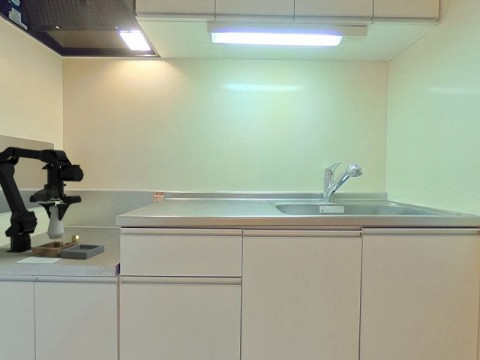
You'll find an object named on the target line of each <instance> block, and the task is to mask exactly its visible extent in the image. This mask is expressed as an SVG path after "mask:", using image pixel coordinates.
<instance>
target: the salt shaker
mask: <svg viewBox="0 0 480 360" xmlns="http://www.w3.org/2000/svg"><path fill="white" fill-rule="evenodd" d="M49 211H50V212H51V217H50V219H49V223H48V227H47V232H46V234H47V237H48V238H49V239H50V240H59V239H63V237H64V235H65V229H64V224H63V223H64V222H63V219H62V220H61V221H59V219H58V207H57V206H56V204H55V206H50V208H49Z"/></svg>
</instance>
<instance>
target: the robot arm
mask: <svg viewBox="0 0 480 360" xmlns="http://www.w3.org/2000/svg"><path fill="white" fill-rule="evenodd" d="M20 158H24V159H31V160H38V161H40V162H42V163H45V165H44V166H42V167H41V170H43V171H45V170H46V183H44V185H43V188H41V189H39V190H37V191H36V192H34V193H33V194H32V195H31V194H30V196H29V203H37V202H39V203H38V205H39V206H41V207H42V208H44V210H45V212H46V215H47V216H48V219H49V220H50V217H51V212H50V211H49V208H50V206H55V205H56V206H57V207H58V219H59V221H61V220H62V221H63V219H64V217H65V214H66V213H67V211H68V209H69V207H70V206H71V205H73V204H78V203H80V204H81V203H82V197H81V196H80V195H75V194H73V195H67V194H66V193H65V187H67V183H65V182H68V183H69V182H71V183H73V182H75V183H80V182H82V181H83V179H84V175H85V174H84V171H83V169H82V168H81V164H72V162H71V161H70V159H69V157H68V156H67V153H66V152H65V151H64V150H63V149H53V148H52V149H51V148H48V149H47V148H46V149H40V150H39V149H30V148H23V147H19V146H7V147H6V148H5V149H4V150H2V151H1V152H0V187H1V189H2V192H3V194H4V197H5V200H6V202H7V205H8V207H9V210H10V212H11V214H10V218H9V222H10V223H9V224H10V226H9V227H8V228H6V230H5V231H4V234H5V237H6V238H10V239H9V241H10V248H9V249H7V250H6V252H7V253H8V252H9V253H23V252H26V251H29V250H32V248H33V247H34V246H32V238H31V234H33V235H34V233H35V230H36V228H37V225H38V218H37V217H36V212H35V211H34V210H31V211H29V209H27V208H26V205H25V203H24V199H23V197H22V194H21V193H20V189H19V187H18V185H17V183H16V181H15V178H14V177H15V173H16V168H15V166H16V165H17V164H19V162H20ZM57 202H59V203H57Z"/></svg>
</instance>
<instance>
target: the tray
mask: <svg viewBox="0 0 480 360" xmlns="http://www.w3.org/2000/svg"><path fill="white" fill-rule="evenodd" d="M104 252H105V245H103V244H89V243H88V244H87V243H79V244H78V245H75V246H73V247H70V248H67V249H64V250H61V251H60V257H59V258H64V259H65V258H66V259H78V260H79V259H80V260H88V259H91V258H93V257H94V256H97V255H99V254H102V253H104Z"/></svg>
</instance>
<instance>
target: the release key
mask: <svg viewBox="0 0 480 360" xmlns="http://www.w3.org/2000/svg"><path fill="white" fill-rule="evenodd" d="M71 242H77V243H78V244H80V234H72V235H71ZM62 246H65V243H63V245H61V247H62Z"/></svg>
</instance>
